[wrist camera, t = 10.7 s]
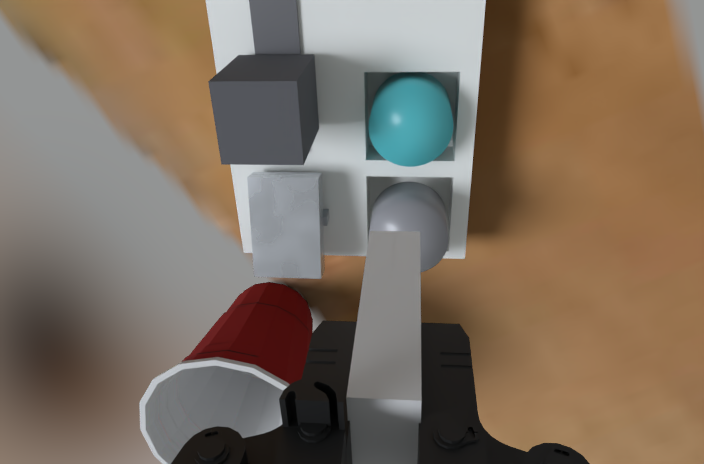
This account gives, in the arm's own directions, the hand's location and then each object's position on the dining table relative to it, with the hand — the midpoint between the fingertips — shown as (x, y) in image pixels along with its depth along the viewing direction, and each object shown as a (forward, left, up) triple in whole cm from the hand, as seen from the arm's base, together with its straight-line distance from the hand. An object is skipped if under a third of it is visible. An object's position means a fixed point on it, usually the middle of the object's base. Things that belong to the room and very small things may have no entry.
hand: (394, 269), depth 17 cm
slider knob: (-1, -7, -15) cm, 16 cm away
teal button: (+1, 0, -17) cm, 17 cm away
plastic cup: (+17, -10, -19) cm, 27 cm away
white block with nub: (+7, -7, -14) cm, 17 cm away
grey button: (+7, 0, -16) cm, 17 cm away
